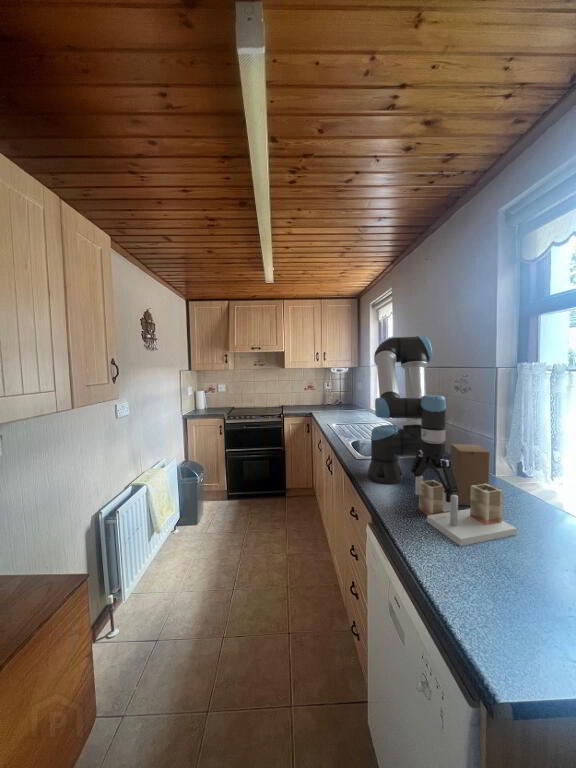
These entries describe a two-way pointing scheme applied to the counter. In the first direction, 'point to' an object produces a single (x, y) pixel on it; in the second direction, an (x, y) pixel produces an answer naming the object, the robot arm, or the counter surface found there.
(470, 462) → the wooden block
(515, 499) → the counter surface
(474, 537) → the pin board
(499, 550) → the counter surface
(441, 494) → the sleeve
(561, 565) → the counter surface
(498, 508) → the sleeve seated
